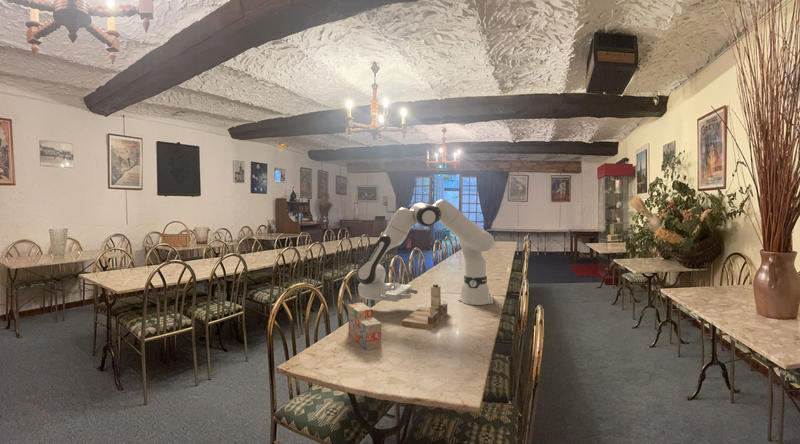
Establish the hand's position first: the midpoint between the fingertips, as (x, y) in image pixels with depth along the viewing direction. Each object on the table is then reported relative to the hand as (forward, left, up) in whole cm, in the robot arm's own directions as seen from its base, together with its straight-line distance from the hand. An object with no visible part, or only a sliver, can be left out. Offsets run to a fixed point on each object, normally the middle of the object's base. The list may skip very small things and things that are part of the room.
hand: (414, 294), depth 180 cm
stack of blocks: (+39, -6, -10) cm, 41 cm away
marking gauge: (0, +11, -7) cm, 13 cm away
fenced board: (+7, +8, -9) cm, 14 cm away
